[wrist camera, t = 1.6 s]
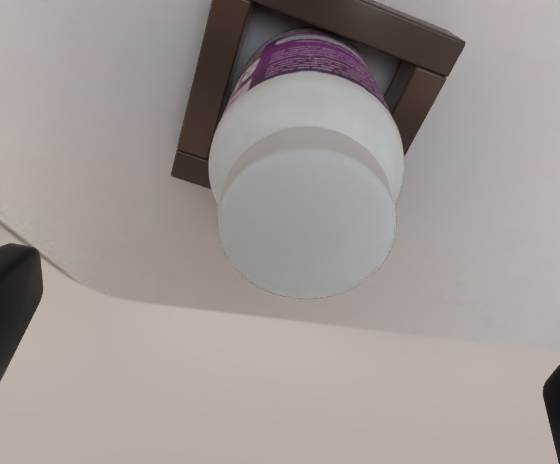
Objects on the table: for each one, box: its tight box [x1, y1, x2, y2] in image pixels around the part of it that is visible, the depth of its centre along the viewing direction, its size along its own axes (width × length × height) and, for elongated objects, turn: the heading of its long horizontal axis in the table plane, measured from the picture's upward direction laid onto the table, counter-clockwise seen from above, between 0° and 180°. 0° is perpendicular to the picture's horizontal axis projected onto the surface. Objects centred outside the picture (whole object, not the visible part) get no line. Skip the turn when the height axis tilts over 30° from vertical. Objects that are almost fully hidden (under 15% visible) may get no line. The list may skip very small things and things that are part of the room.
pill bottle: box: [209, 28, 404, 299], centre depth 14 cm, size 5×5×10 cm
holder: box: [171, 0, 465, 189], centre depth 17 cm, size 8×8×2 cm
